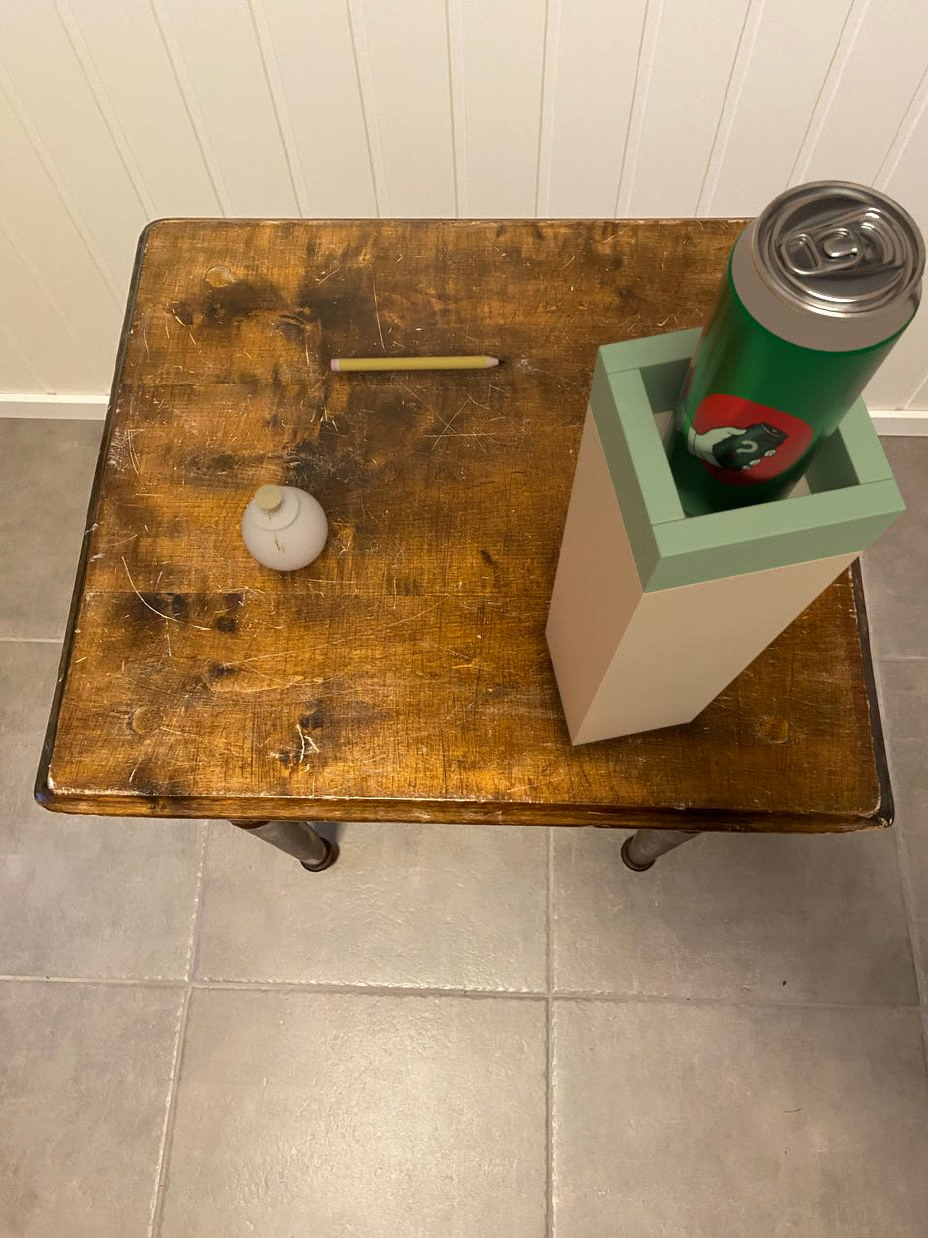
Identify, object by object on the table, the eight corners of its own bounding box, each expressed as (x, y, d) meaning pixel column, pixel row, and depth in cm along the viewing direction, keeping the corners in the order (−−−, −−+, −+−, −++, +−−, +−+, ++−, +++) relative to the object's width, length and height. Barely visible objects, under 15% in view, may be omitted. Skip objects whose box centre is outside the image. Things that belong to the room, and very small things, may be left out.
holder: (658, 609, 64) (825, 302, 32) (690, 722, 61) (907, 508, 29) (544, 632, 63) (598, 345, 32) (572, 746, 61) (660, 557, 29)
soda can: (809, 516, 33) (976, 304, 22) (679, 546, 33) (778, 348, 21) (763, 402, 35) (896, 150, 23) (639, 430, 34) (711, 189, 23)
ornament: (326, 501, 67) (299, 432, 58) (344, 590, 65) (318, 534, 55) (248, 518, 67) (208, 452, 57) (263, 608, 64) (223, 555, 55)
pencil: (507, 370, 70) (507, 363, 69) (332, 374, 71) (330, 366, 70) (506, 359, 71) (507, 352, 70) (333, 363, 71) (331, 356, 70)
